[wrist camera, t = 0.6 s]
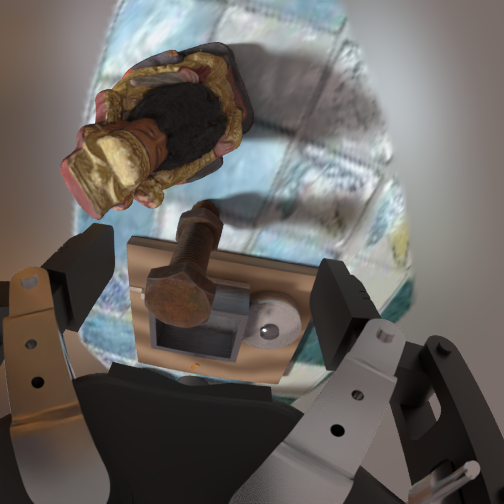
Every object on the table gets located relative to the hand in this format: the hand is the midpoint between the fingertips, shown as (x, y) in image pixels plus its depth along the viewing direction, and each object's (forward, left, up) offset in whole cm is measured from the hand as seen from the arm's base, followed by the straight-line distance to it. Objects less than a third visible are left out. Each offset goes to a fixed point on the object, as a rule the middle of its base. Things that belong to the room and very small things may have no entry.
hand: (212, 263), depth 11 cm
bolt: (+9, -2, -22) cm, 24 cm away
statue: (-5, -4, -21) cm, 22 cm away
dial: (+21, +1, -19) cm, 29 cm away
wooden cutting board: (+27, +1, -21) cm, 34 cm away
